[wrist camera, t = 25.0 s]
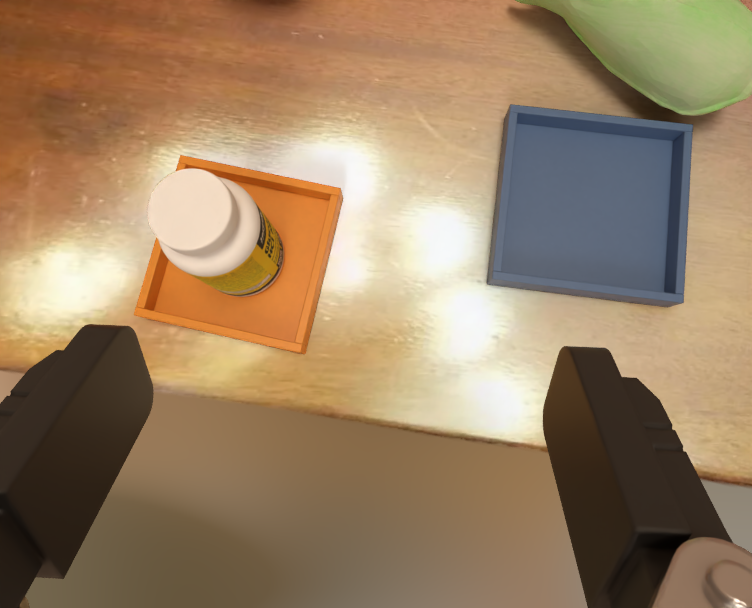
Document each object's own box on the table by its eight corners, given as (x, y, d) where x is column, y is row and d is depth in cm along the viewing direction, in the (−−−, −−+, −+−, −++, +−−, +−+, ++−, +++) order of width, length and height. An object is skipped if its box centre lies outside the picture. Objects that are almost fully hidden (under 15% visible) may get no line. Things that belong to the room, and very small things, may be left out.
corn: (702, 148, 35) (478, -32, 38) (692, 145, 42) (503, -6, 45) (822, 32, 31) (561, -159, 34) (790, 51, 38) (575, -109, 41)
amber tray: (305, 354, 39) (300, 352, 37) (146, 318, 40) (133, 314, 38) (343, 198, 41) (340, 188, 38) (190, 166, 41) (180, 154, 39)
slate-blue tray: (668, 307, 39) (684, 303, 37) (486, 284, 39) (492, 278, 37) (677, 137, 41) (693, 124, 38) (504, 118, 41) (510, 104, 39)
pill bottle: (301, 272, 39) (265, 229, 28) (227, 313, 39) (162, 286, 28) (262, 202, 40) (213, 134, 29) (189, 242, 40) (113, 189, 29)
